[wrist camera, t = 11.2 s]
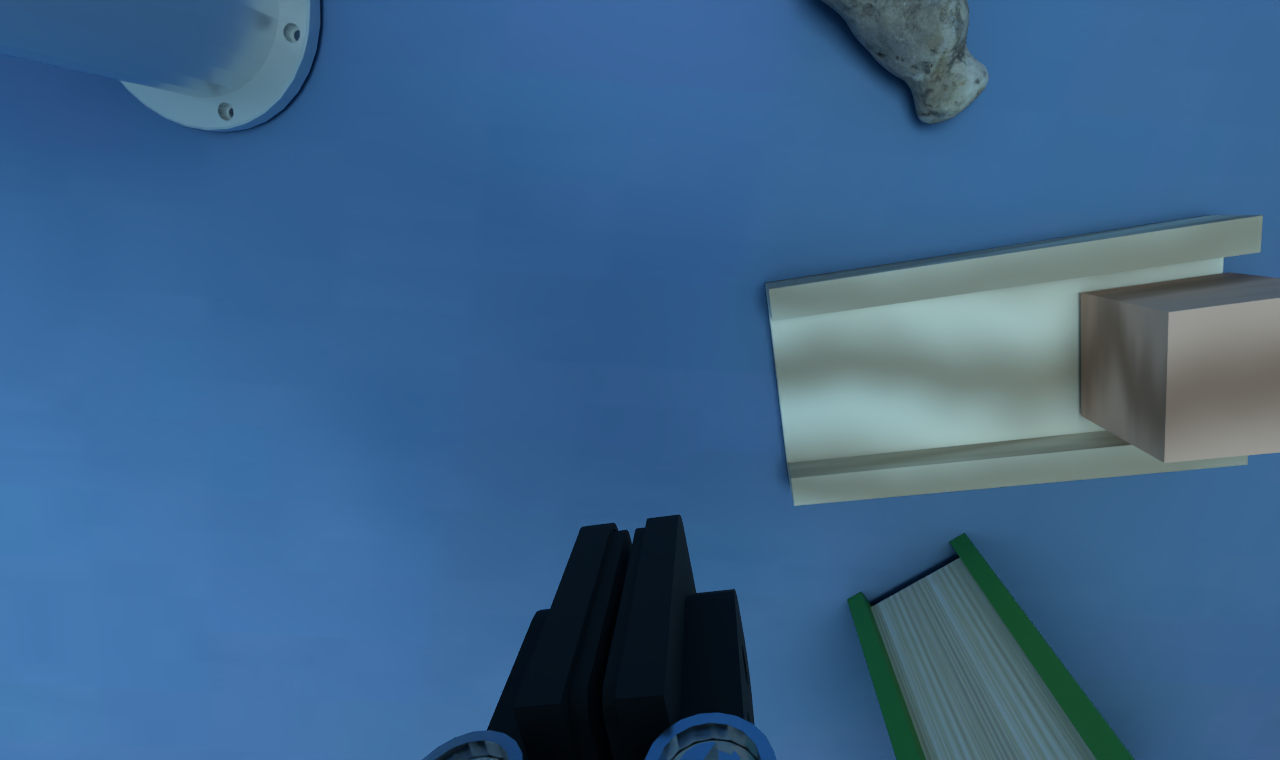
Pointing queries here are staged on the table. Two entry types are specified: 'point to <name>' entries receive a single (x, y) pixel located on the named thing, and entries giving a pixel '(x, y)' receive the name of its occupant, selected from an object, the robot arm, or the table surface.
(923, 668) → the hardback book
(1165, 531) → the table surface
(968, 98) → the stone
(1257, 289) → the block
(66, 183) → the table surface
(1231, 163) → the table surface
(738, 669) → the robot arm
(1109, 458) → the chute
